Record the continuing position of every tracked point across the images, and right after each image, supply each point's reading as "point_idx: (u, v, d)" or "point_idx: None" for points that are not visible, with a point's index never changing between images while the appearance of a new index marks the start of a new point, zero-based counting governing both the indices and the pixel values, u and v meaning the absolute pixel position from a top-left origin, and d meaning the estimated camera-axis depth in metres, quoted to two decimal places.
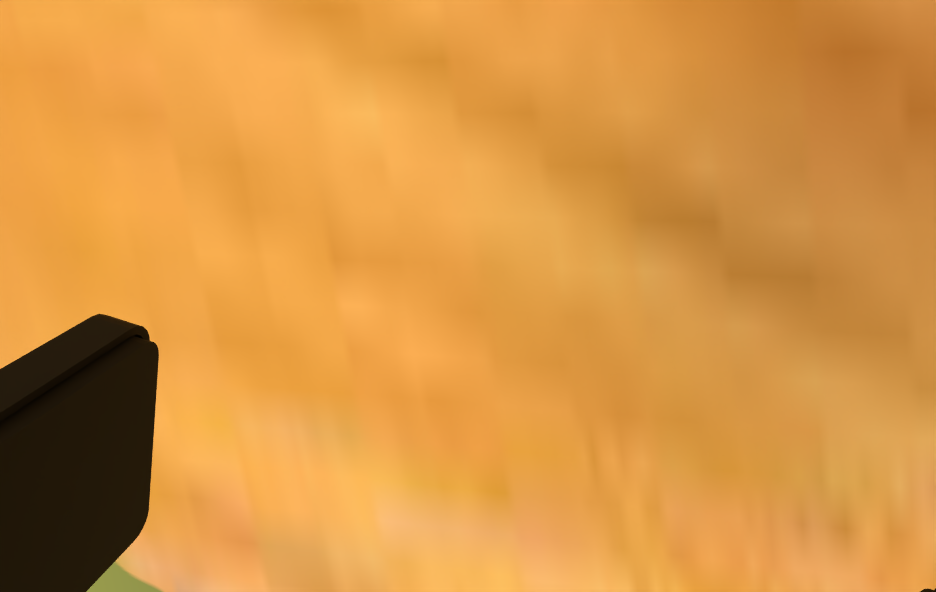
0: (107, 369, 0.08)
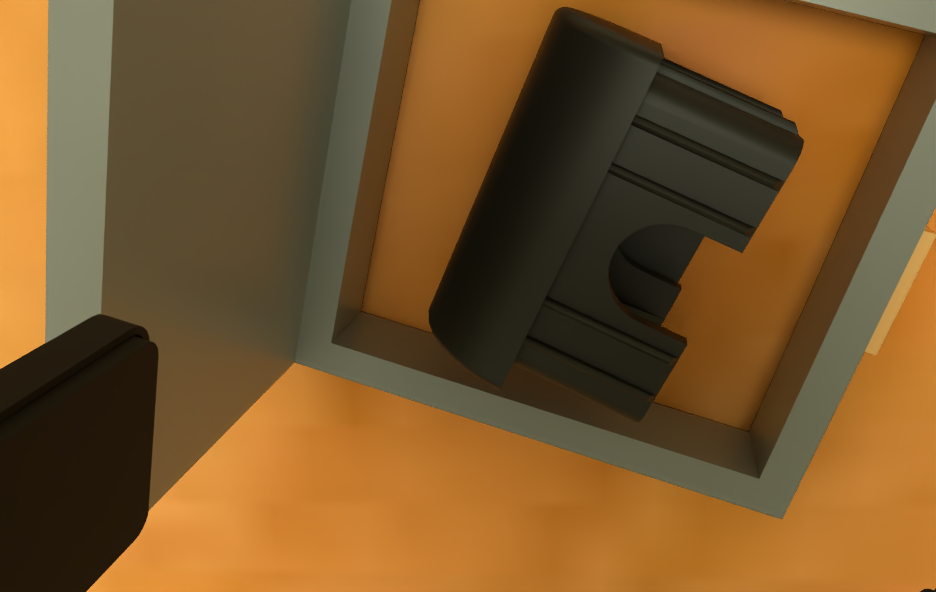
0: (107, 369, 0.08)
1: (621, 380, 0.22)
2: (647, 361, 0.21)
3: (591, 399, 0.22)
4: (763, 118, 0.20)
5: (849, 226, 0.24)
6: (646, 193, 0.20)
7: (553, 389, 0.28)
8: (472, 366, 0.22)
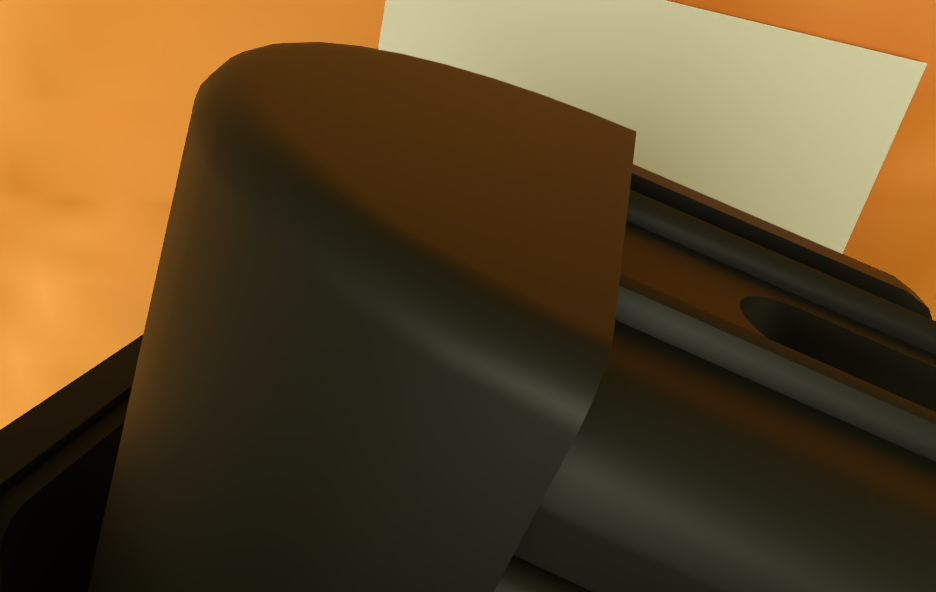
0: None
1: None
2: None
3: None
4: None
5: None
6: None
7: None
8: None
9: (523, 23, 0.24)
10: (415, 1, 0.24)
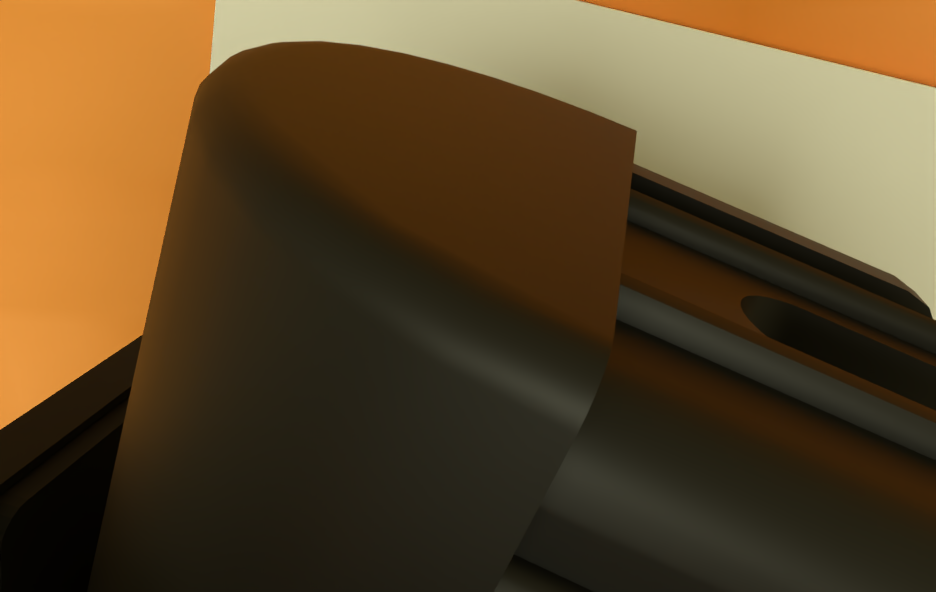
0: None
1: None
2: None
3: None
4: None
5: None
6: None
7: None
8: None
9: (435, 60, 0.14)
10: (260, 22, 0.15)
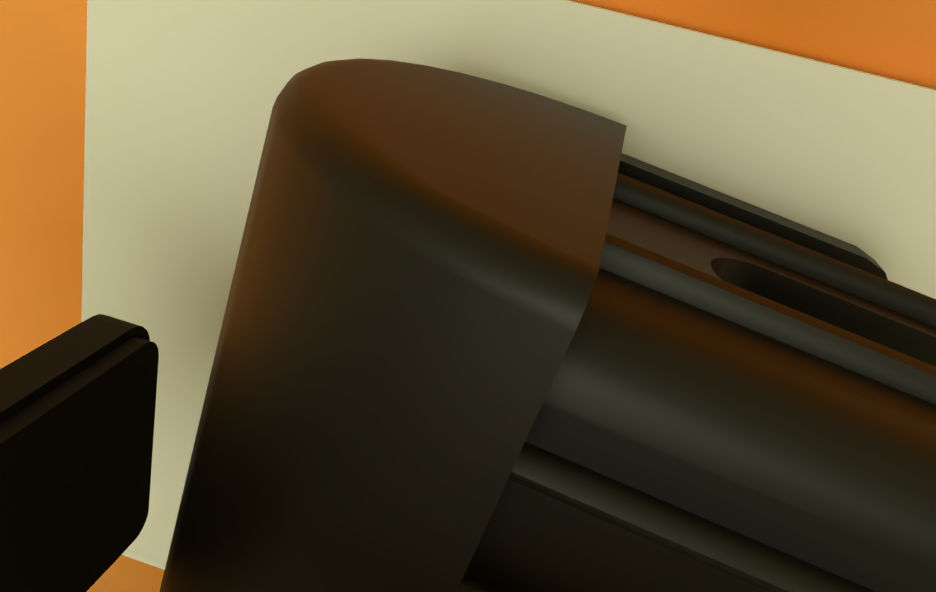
0: (107, 369, 0.08)
1: None
2: None
3: None
4: None
5: None
6: None
7: None
8: None
9: None
10: (145, 26, 0.11)
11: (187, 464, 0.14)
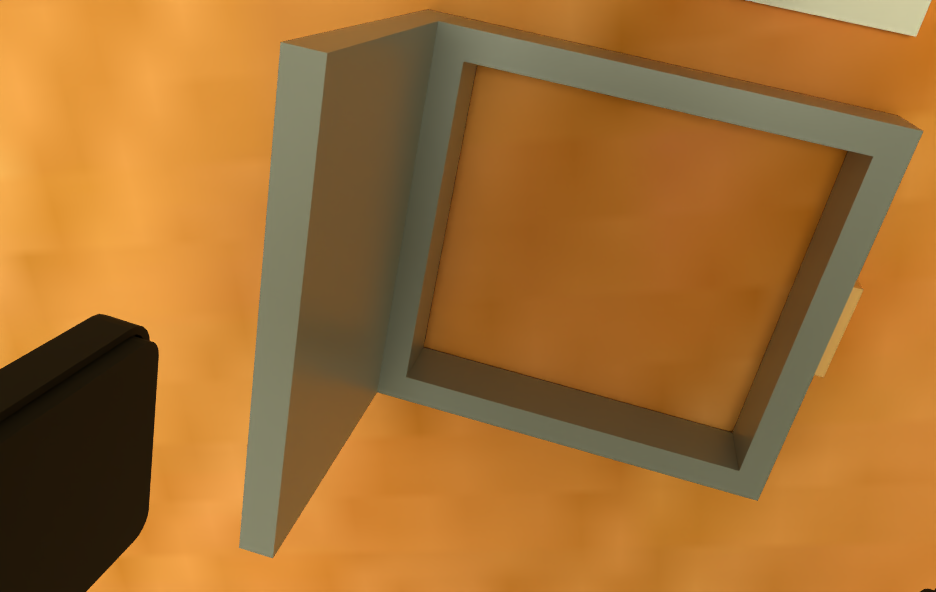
0: (107, 369, 0.08)
1: None
2: None
3: None
4: None
5: (801, 280, 0.32)
6: None
7: (579, 406, 0.35)
8: None
9: None
10: None
11: None
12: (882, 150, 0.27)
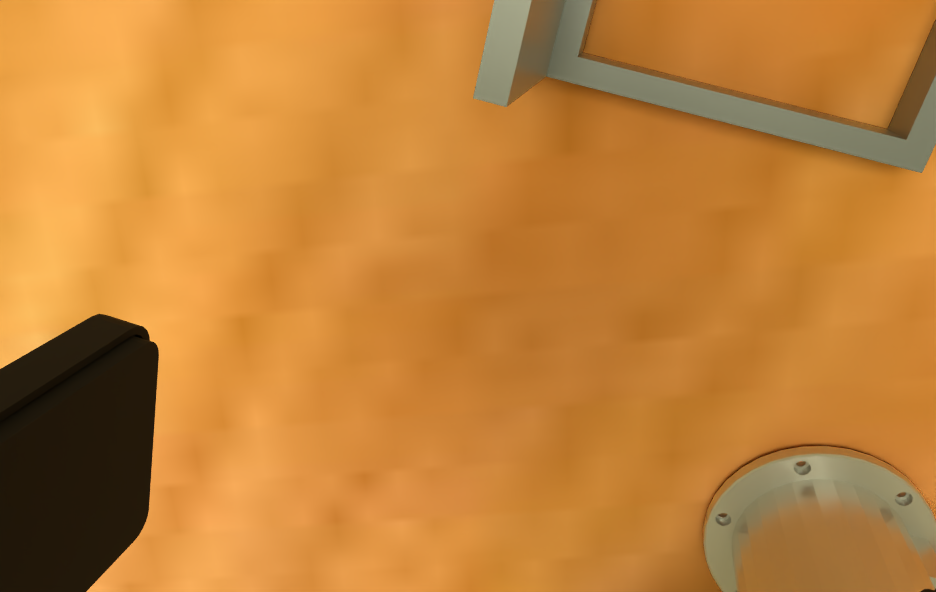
0: (107, 369, 0.08)
1: None
2: None
3: None
4: None
5: None
6: None
7: (742, 95, 0.37)
8: None
9: None
10: None
11: None
12: None
